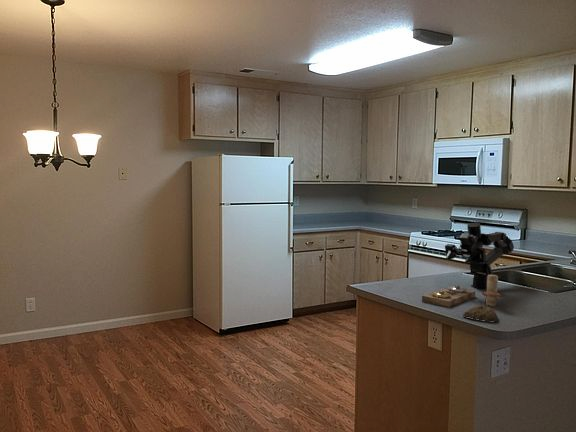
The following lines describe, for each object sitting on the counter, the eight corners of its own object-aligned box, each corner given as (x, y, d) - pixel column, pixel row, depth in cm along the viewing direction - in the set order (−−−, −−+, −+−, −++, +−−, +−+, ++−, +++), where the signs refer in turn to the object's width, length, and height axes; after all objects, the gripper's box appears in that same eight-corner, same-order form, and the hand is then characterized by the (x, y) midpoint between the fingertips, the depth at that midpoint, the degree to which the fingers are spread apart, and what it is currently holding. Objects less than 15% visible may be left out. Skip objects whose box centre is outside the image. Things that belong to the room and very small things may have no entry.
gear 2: (452, 287, 229) (453, 283, 229) (469, 290, 224) (469, 286, 224) (444, 290, 224) (444, 285, 223) (461, 293, 218) (462, 289, 218)
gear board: (449, 291, 232) (450, 286, 232) (475, 296, 224) (475, 291, 224) (421, 301, 213) (422, 295, 213) (448, 307, 205) (448, 301, 205)
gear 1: (437, 292, 218) (437, 288, 218) (454, 296, 213) (454, 291, 213) (428, 295, 213) (428, 291, 213) (445, 299, 207) (446, 294, 207)
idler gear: (491, 302, 215) (493, 273, 214) (504, 306, 208) (506, 277, 207) (477, 303, 212) (479, 274, 211) (490, 307, 206) (492, 278, 205)
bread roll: (496, 325, 184) (496, 311, 183) (461, 319, 190) (461, 306, 189) (500, 316, 195) (501, 304, 194) (466, 311, 201) (467, 299, 200)
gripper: (452, 228, 238) (435, 241, 228) (490, 233, 224) (474, 246, 215) (454, 250, 241) (437, 263, 231) (492, 256, 227) (476, 270, 218)
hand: (455, 260), depth 224 cm, fingers open, 9 cm apart
